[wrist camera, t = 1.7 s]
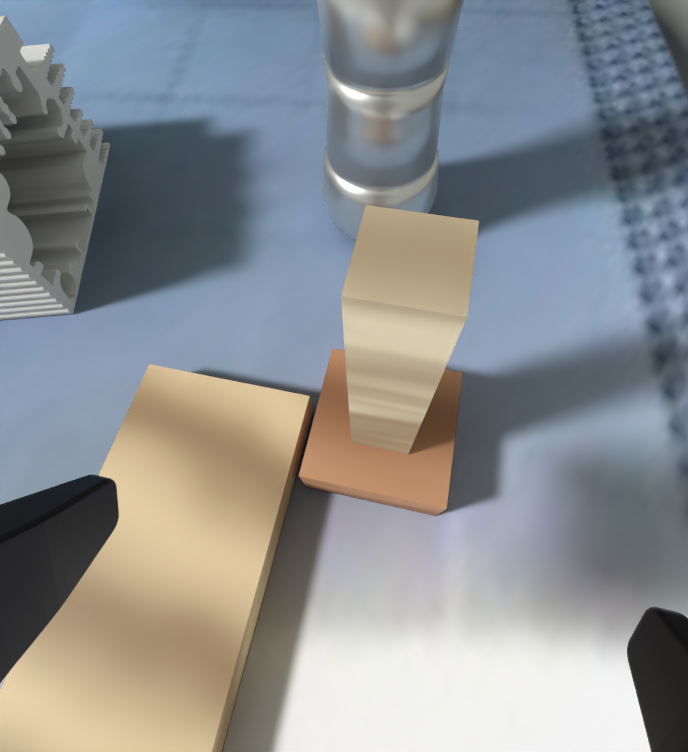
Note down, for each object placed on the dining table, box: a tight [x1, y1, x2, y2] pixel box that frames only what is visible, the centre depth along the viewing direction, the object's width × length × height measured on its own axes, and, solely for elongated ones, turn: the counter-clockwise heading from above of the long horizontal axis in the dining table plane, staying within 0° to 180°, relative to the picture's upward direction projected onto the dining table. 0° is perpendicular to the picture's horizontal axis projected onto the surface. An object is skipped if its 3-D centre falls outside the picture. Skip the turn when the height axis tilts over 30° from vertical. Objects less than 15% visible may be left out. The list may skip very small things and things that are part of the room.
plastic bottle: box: [316, 0, 464, 241], centre depth 17 cm, size 6×7×20 cm
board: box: [0, 364, 314, 752], centre depth 16 cm, size 22×8×2 cm, turn 168°
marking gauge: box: [299, 205, 479, 516], centre depth 14 cm, size 6×6×13 cm
